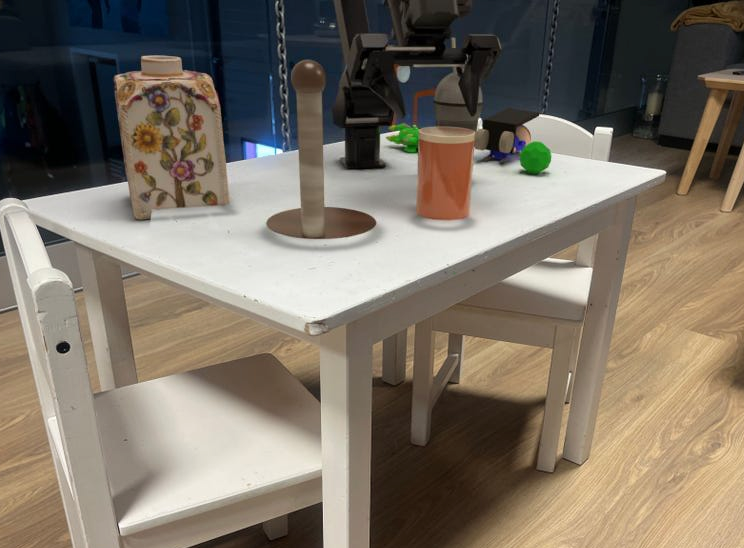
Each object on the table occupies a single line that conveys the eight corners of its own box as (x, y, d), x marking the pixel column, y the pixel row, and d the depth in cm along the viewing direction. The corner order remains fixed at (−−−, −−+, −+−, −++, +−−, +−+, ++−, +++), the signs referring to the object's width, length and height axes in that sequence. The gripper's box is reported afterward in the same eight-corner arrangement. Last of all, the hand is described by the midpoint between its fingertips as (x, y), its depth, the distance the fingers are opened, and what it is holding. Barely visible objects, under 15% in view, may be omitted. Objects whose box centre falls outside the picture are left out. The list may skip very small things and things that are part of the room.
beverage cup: (474, 190, 105) (485, 40, 96) (425, 186, 107) (431, 38, 97) (479, 178, 112) (490, 37, 102) (433, 175, 113) (439, 35, 104)
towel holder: (280, 213, 92) (272, 48, 83) (382, 218, 91) (384, 52, 82) (253, 246, 80) (239, 59, 72) (368, 252, 80) (369, 63, 71)
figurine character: (507, 175, 120) (538, 150, 131) (510, 129, 116) (541, 107, 127) (470, 170, 123) (503, 145, 134) (471, 125, 119) (505, 103, 130)
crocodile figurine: (464, 162, 122) (466, 136, 120) (377, 148, 131) (377, 123, 129) (483, 156, 127) (484, 130, 125) (397, 142, 135) (398, 118, 133)
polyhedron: (515, 169, 118) (518, 139, 116) (544, 169, 119) (548, 139, 116) (522, 176, 114) (525, 145, 112) (552, 176, 114) (556, 145, 112)
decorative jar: (129, 196, 97) (107, 52, 89) (216, 191, 101) (204, 52, 93) (134, 221, 88) (110, 62, 79) (231, 214, 91) (218, 61, 83)
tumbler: (404, 219, 91) (406, 129, 86) (444, 210, 95) (449, 124, 90) (439, 232, 87) (444, 138, 82) (480, 223, 91) (487, 133, 85)
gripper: (353, -45, 81) (380, 71, 77) (502, -39, 87) (535, 70, 83) (336, 27, 92) (360, 133, 88) (471, 28, 97) (499, 128, 93)
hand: (439, 115), depth 87 cm, fingers open, 9 cm apart
